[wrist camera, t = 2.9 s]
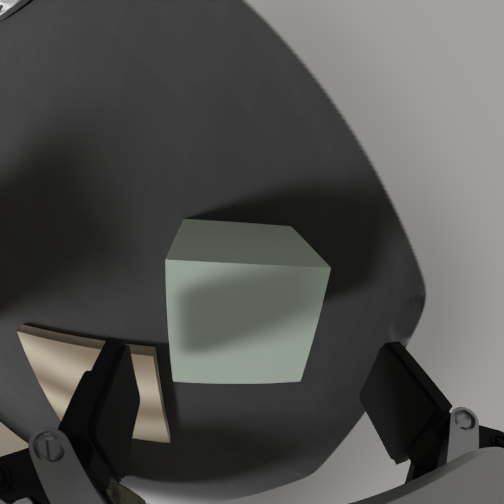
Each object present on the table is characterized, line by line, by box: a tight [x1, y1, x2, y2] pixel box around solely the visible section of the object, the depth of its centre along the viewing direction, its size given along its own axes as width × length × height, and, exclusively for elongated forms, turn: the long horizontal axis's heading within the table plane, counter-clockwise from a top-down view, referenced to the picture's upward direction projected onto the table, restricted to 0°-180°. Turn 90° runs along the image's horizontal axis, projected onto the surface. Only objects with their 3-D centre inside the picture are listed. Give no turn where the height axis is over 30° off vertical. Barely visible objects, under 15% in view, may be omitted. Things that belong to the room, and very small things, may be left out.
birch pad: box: [17, 325, 170, 443], centre depth 18 cm, size 12×12×1 cm
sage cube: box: [165, 219, 331, 384], centre depth 13 cm, size 6×6×6 cm
